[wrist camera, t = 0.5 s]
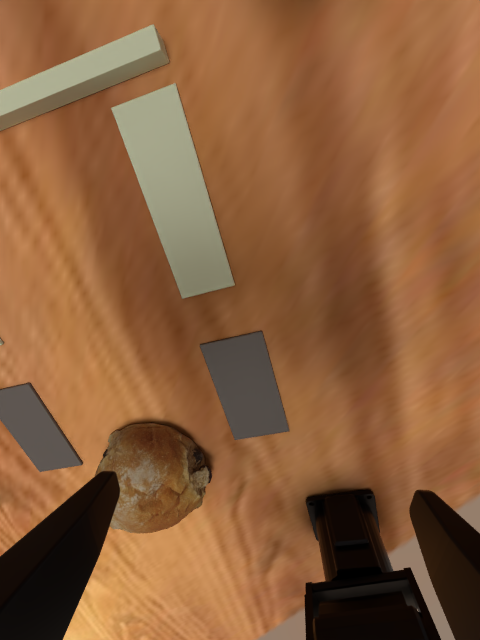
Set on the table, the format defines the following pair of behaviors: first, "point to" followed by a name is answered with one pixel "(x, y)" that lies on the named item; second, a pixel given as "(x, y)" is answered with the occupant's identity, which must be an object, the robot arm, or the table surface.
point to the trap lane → (172, 226)
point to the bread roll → (154, 477)
